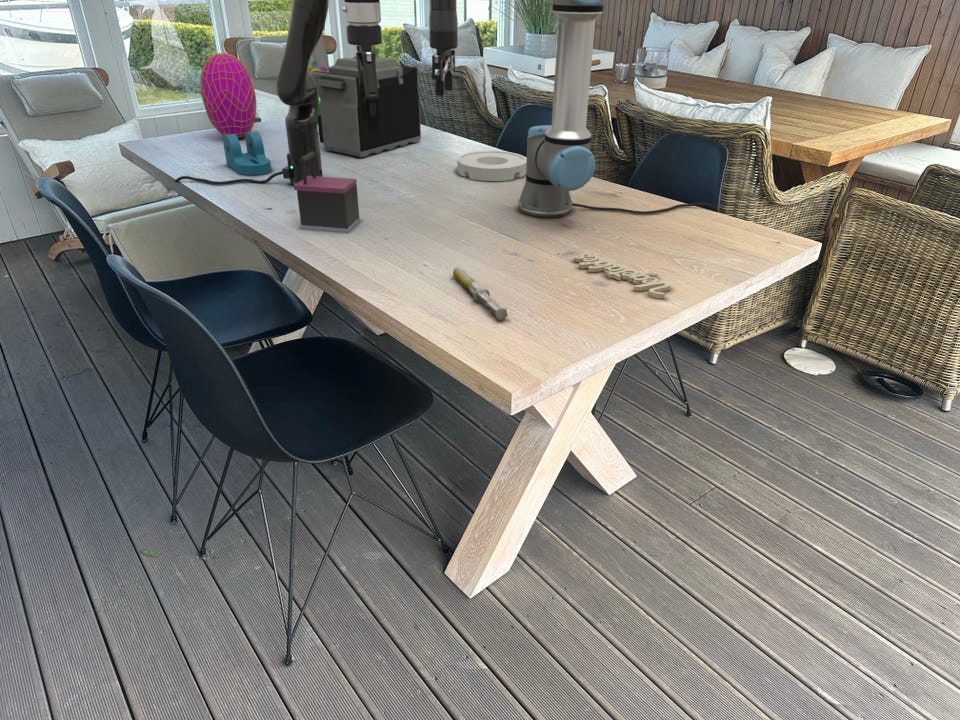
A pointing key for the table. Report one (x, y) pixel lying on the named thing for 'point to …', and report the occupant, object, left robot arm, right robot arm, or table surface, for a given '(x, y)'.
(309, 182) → the lid
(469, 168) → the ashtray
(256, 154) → the camera mount
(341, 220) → the chest
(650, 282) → the decorative sign
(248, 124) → the decorative egg
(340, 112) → the tool box
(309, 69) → the potted flower
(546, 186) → the right robot arm
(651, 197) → the table surface
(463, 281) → the yellow and grey rod
